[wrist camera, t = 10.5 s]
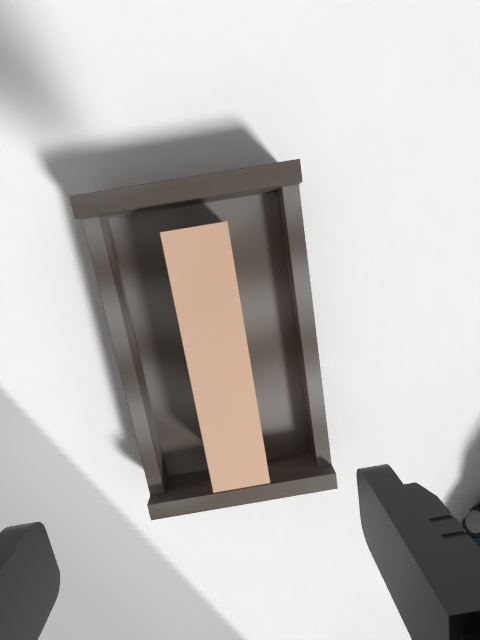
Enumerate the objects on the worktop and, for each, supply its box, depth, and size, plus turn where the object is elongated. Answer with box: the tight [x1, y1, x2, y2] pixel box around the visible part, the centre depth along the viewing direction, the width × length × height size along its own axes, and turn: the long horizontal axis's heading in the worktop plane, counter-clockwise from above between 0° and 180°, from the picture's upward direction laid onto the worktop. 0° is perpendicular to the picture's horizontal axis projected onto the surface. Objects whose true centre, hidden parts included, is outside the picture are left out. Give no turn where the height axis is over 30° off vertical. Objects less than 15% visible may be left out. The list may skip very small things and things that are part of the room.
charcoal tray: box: [69, 159, 337, 520], centre depth 24 cm, size 21×13×4 cm, turn 9°
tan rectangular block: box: [160, 221, 270, 493], centre depth 23 cm, size 16×4×4 cm, turn 9°
